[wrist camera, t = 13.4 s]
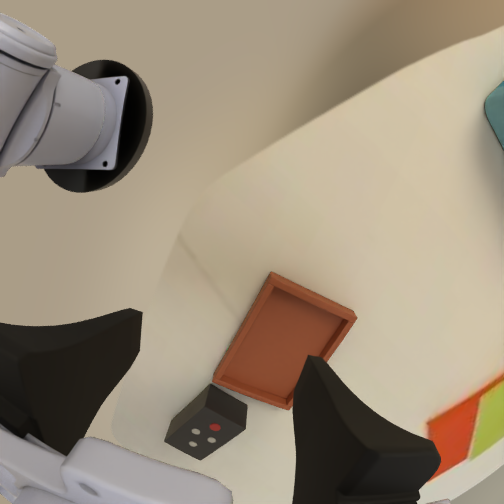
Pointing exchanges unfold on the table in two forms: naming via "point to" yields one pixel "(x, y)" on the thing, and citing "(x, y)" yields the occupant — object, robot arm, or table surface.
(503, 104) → the data package
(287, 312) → the dish
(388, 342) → the table surface
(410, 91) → the table surface
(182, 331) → the table surface
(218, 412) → the remote
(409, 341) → the table surface
